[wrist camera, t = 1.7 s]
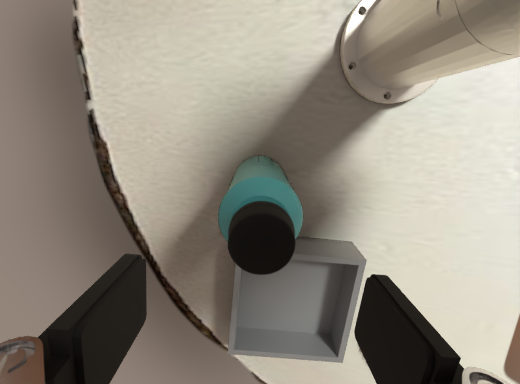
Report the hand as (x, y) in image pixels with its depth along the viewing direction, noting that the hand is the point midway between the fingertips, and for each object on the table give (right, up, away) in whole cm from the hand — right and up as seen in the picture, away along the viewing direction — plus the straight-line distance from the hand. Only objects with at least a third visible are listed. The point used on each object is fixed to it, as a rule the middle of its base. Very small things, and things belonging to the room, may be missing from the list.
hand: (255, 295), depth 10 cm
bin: (+5, -10, +27) cm, 29 cm away
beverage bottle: (0, +6, +23) cm, 24 cm away
